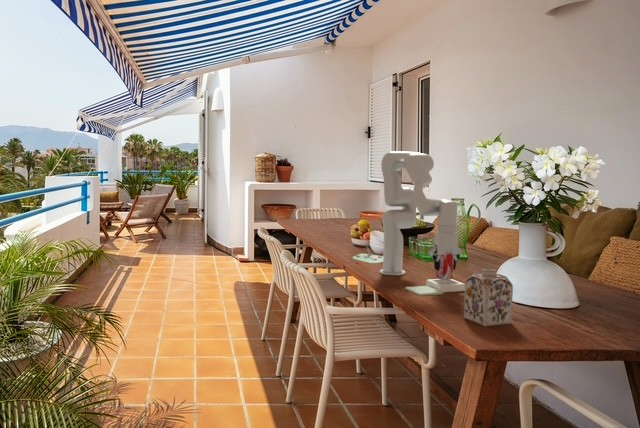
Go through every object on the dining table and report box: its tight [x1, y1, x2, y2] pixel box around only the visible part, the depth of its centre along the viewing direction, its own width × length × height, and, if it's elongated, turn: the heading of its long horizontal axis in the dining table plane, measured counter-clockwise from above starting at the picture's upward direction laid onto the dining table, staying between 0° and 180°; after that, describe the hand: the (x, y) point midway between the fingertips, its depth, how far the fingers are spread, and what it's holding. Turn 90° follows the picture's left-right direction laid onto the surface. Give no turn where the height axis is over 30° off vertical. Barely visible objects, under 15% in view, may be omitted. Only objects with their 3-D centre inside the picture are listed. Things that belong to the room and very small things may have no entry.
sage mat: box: [404, 285, 444, 296], centre depth 235 cm, size 13×11×1 cm
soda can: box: [435, 253, 454, 280], centre depth 241 cm, size 7×7×12 cm
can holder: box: [425, 278, 465, 293], centre depth 241 cm, size 12×12×3 cm
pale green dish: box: [352, 244, 383, 264], centre depth 315 cm, size 25×21×9 cm
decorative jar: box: [463, 268, 514, 327], centre depth 190 cm, size 12×12×18 cm
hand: (444, 269), depth 241 cm, fingers closed on soda can, 7 cm apart
